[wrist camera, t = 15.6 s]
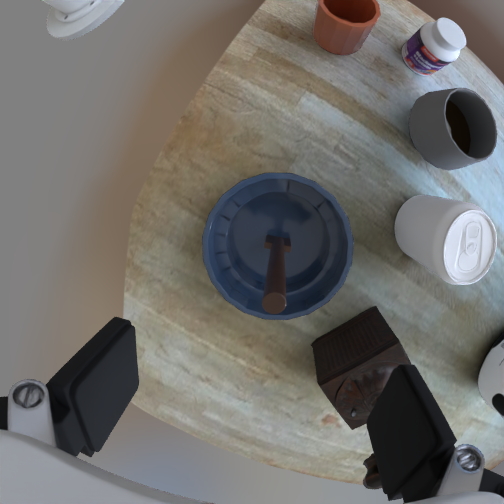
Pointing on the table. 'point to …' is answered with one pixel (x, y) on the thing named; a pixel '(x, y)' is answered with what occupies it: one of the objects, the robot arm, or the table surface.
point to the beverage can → (447, 237)
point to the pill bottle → (433, 46)
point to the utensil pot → (344, 24)
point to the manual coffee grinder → (358, 371)
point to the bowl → (282, 225)
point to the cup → (452, 128)
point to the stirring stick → (275, 274)
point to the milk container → (493, 377)
